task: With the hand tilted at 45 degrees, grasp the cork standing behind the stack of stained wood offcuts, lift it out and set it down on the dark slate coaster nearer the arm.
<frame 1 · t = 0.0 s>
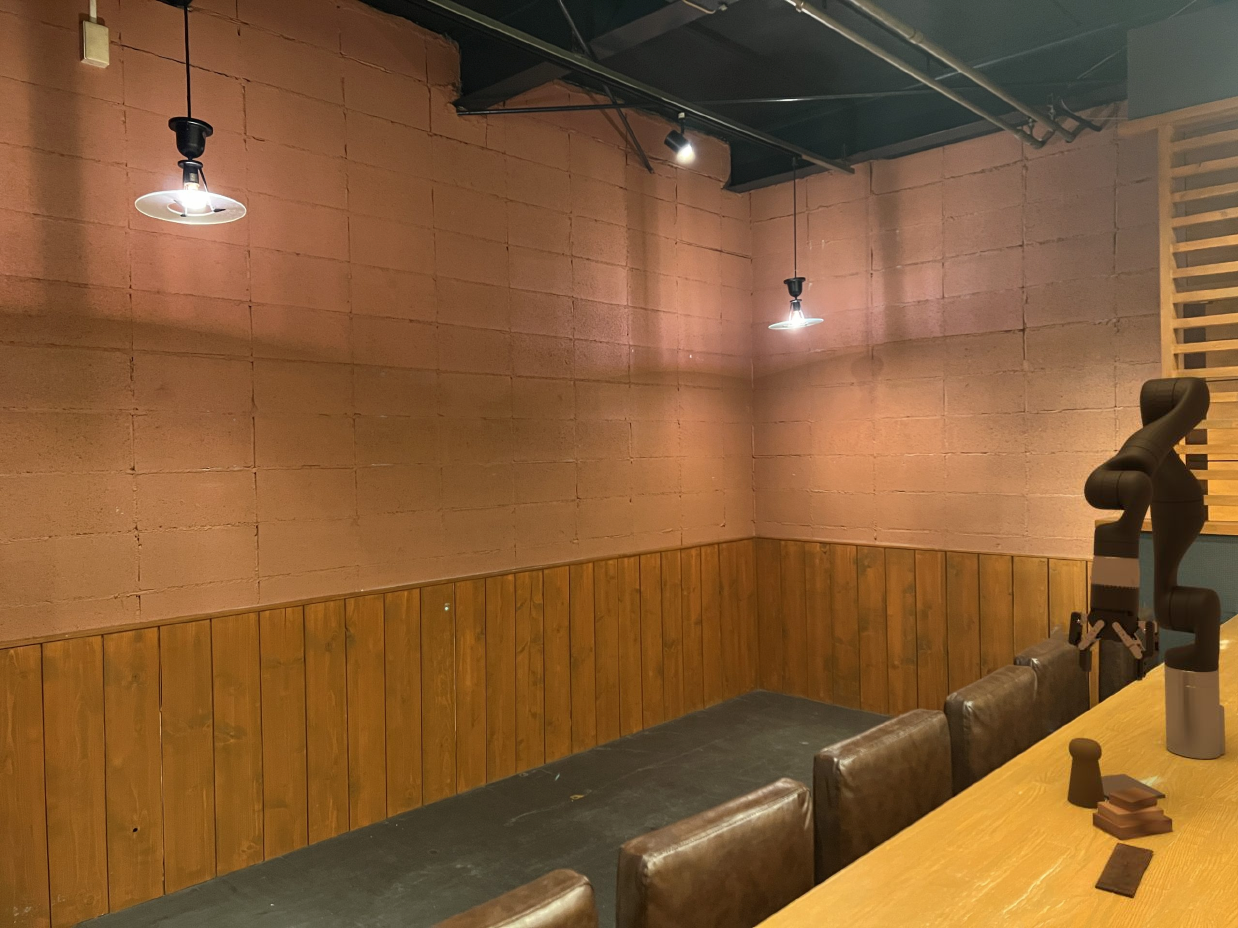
hand: (1111, 675, 155), 22 cm above the counter, tool pointing down, fingers open, 8 cm apart
wooden plank: (1125, 874, 132), on the counter
cork: (1086, 802, 156), on the counter
offcut stack: (1132, 827, 145), on the counter
slate coaster: (1119, 789, 161), on the counter
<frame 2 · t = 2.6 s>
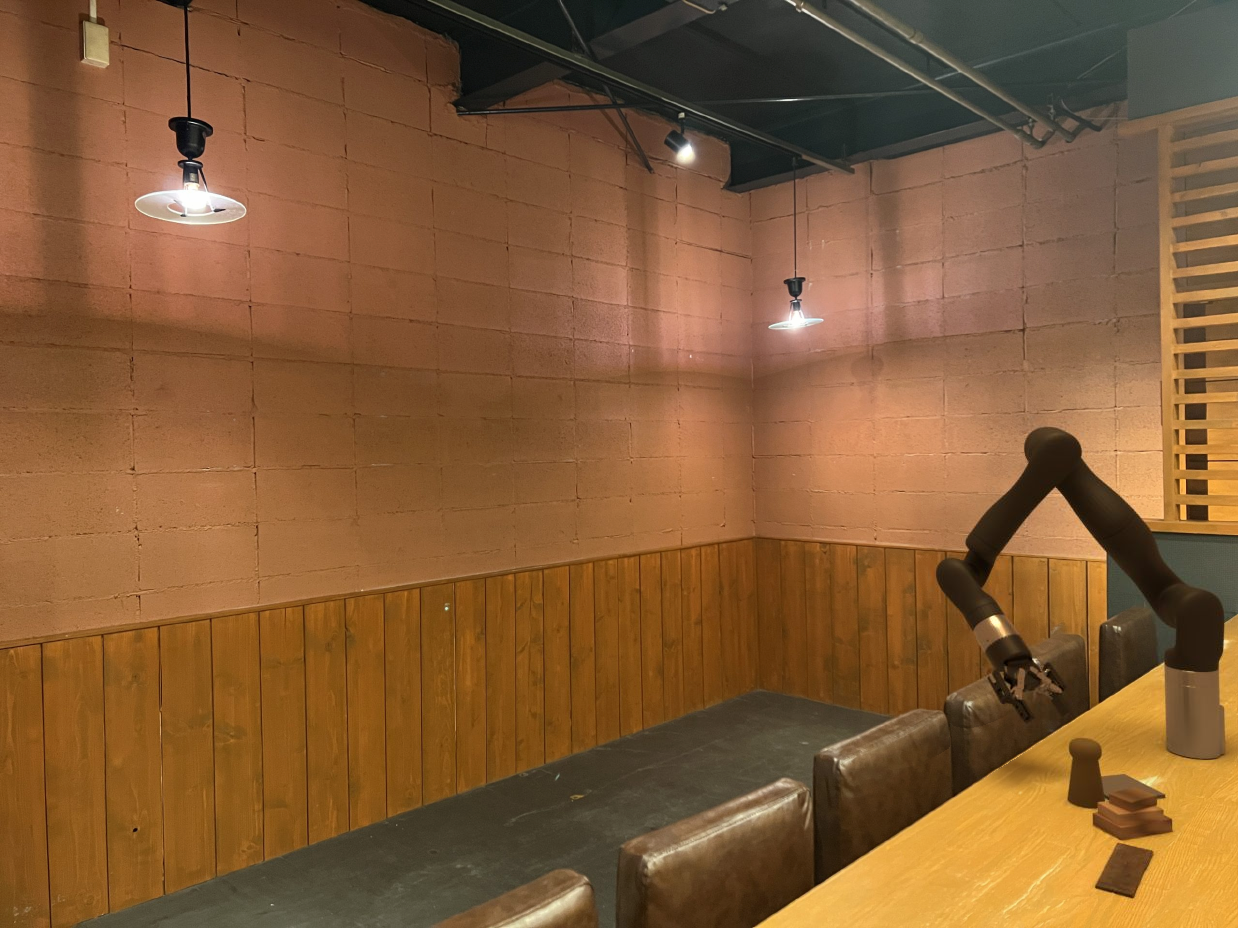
hand: (1049, 717, 163), 13 cm above the counter, tool tilted 45°, fingers open, 8 cm apart
nothing on the counter moved.
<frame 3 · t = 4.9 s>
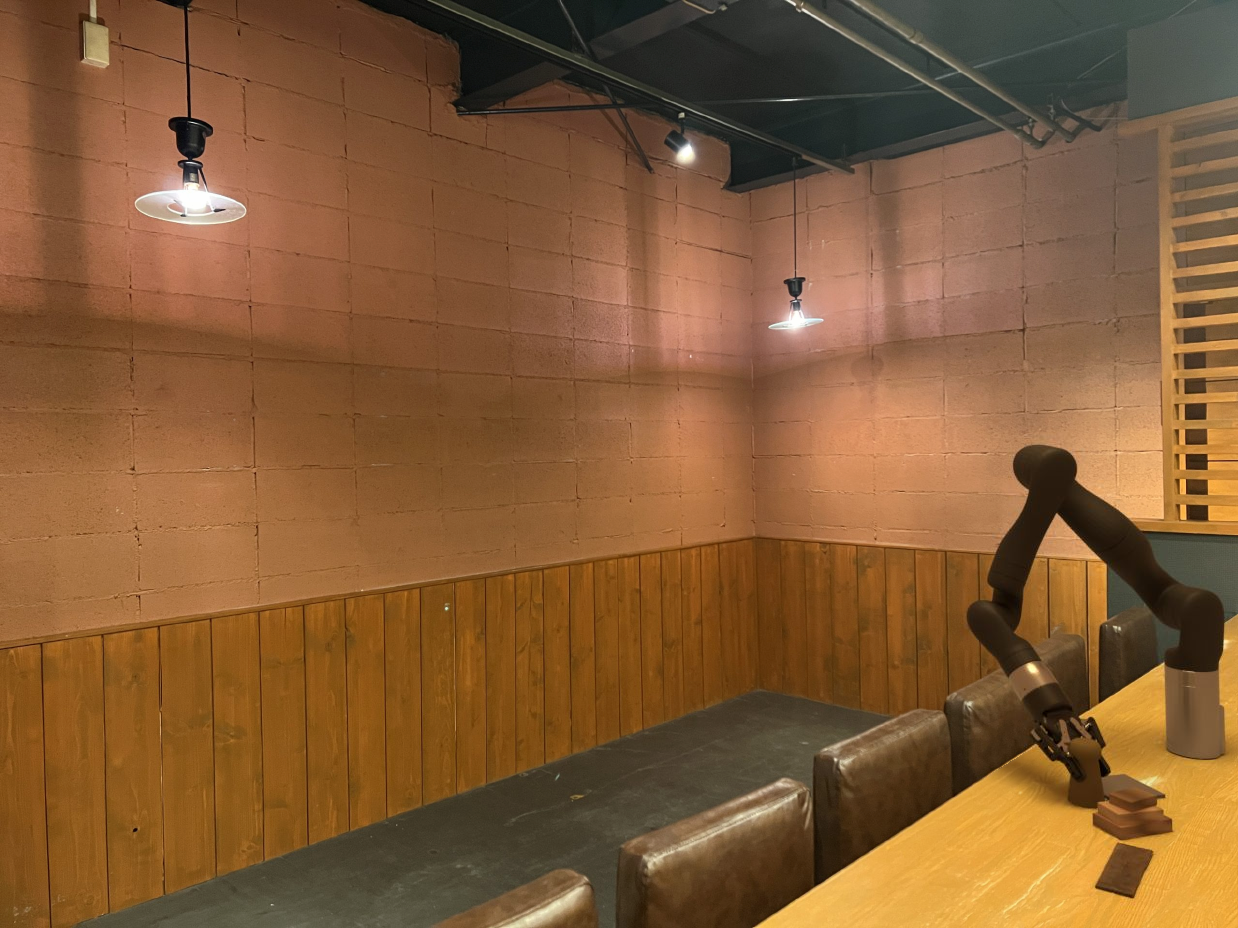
hand: (1094, 777, 154), 5 cm above the counter, tool tilted 45°, fingers closed on cork, 5 cm apart
cork: (1086, 802, 156), on the counter, touching gripper
everything else where it was.
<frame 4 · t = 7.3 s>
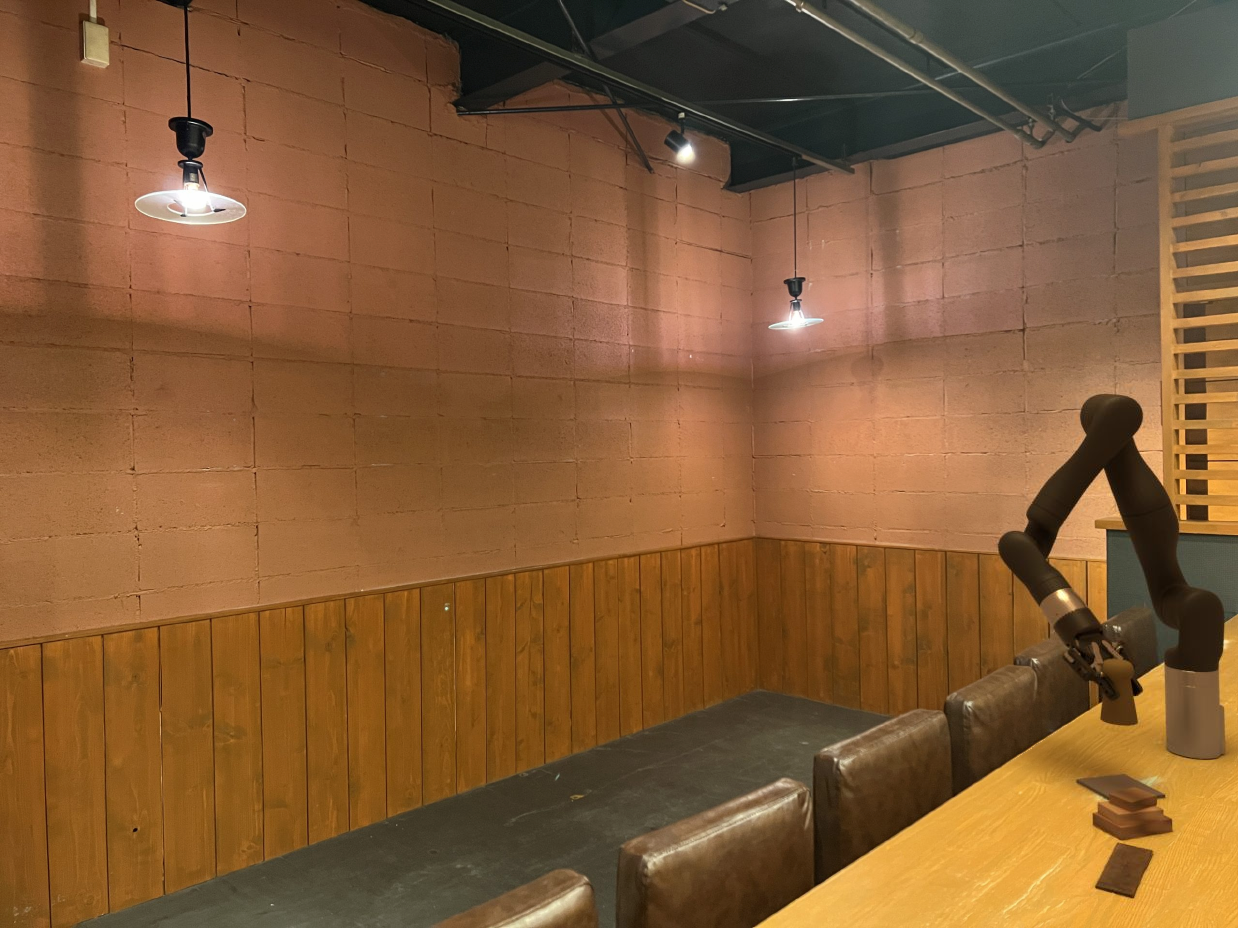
hand: (1127, 695, 158), 18 cm above the counter, tool tilted 45°, fingers closed on cork, 5 cm apart
cork: (1119, 721, 160), point 13 cm above the counter, touching gripper
everything else where it was.
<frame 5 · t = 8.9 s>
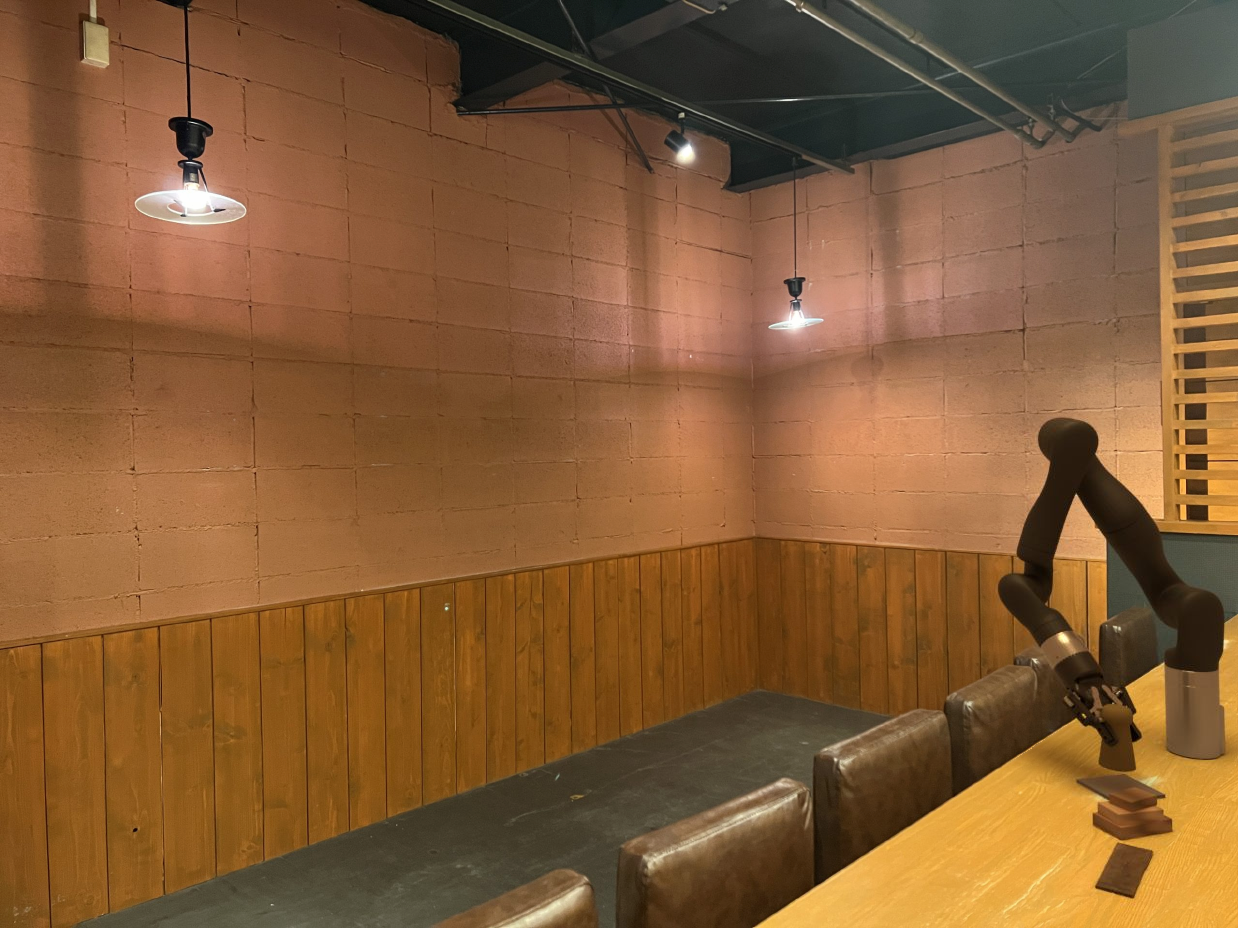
hand: (1126, 741, 159), 9 cm above the counter, tool tilted 45°, fingers closed on cork, 5 cm apart
cork: (1117, 766, 161), point 4 cm above the counter, touching gripper
everything else where it was.
when the fingers open (7 cm above the counter, at t = 9.9 s): cork drops 1 cm, resting on slate coaster.
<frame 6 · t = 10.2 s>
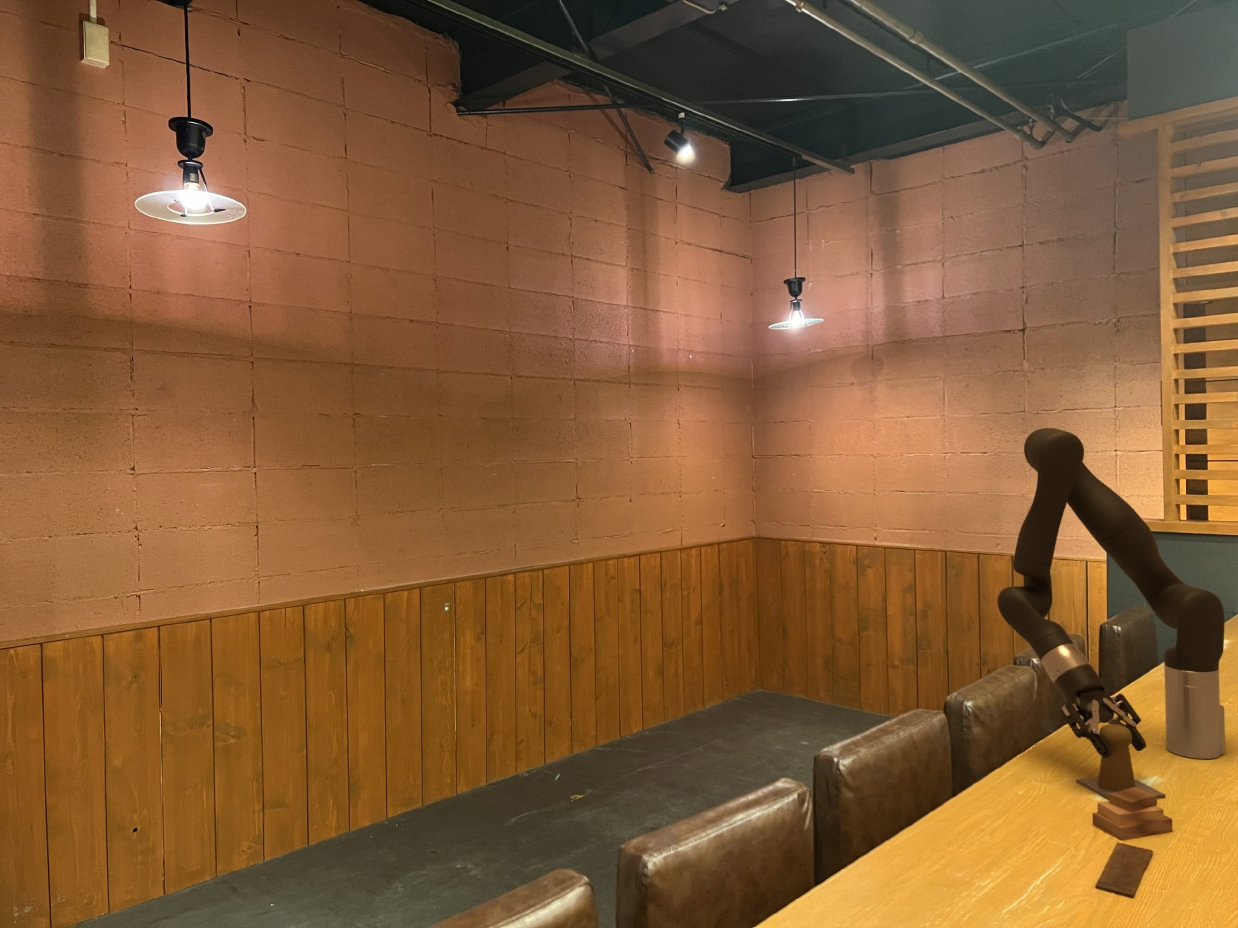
hand: (1125, 752, 159), 7 cm above the counter, tool tilted 45°, fingers open, 7 cm apart
cork: (1116, 786, 161), resting on slate coaster
everything else where it was.
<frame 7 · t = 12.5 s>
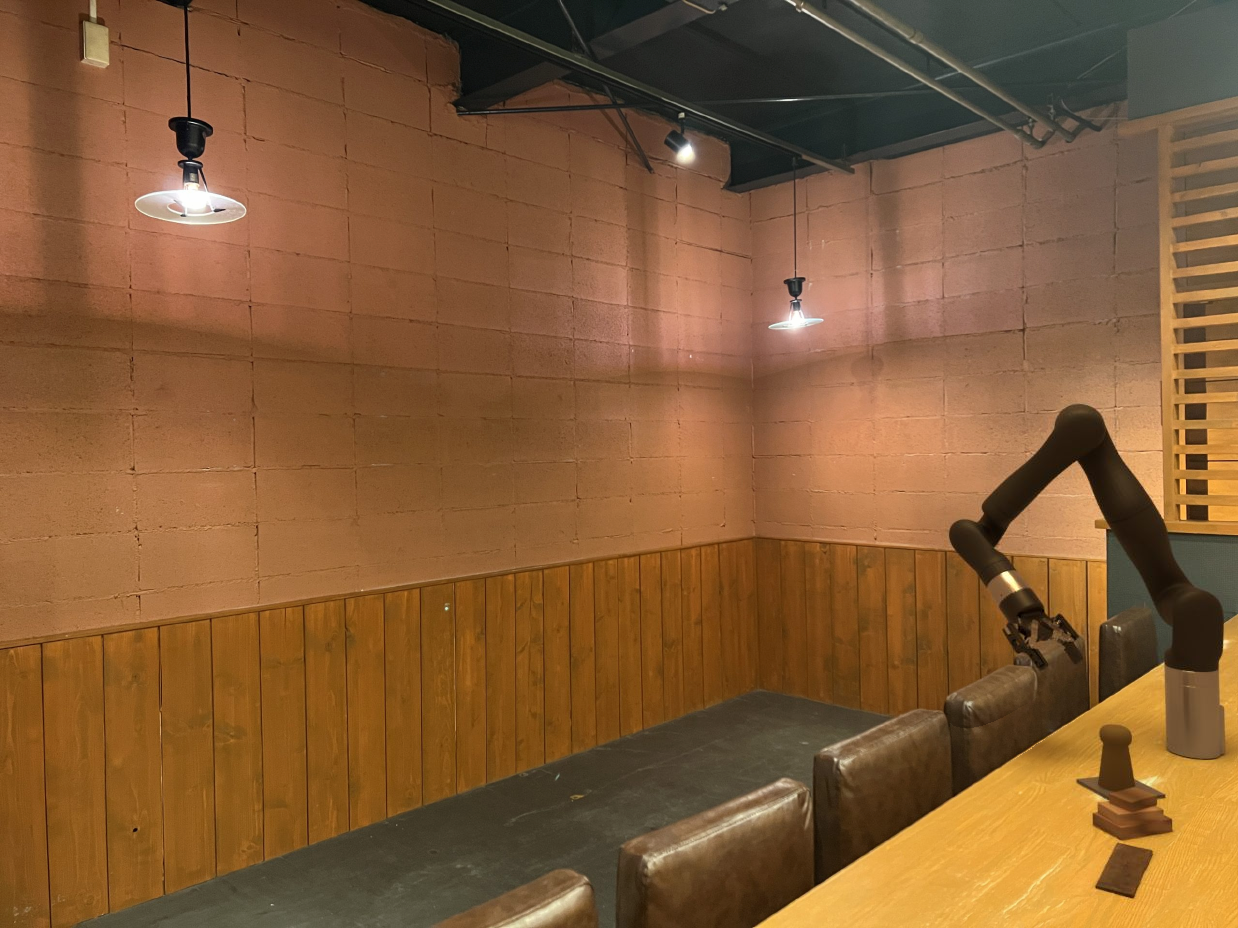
hand: (1062, 664, 171), 20 cm above the counter, tool tilted 45°, fingers open, 8 cm apart
nothing on the counter moved.
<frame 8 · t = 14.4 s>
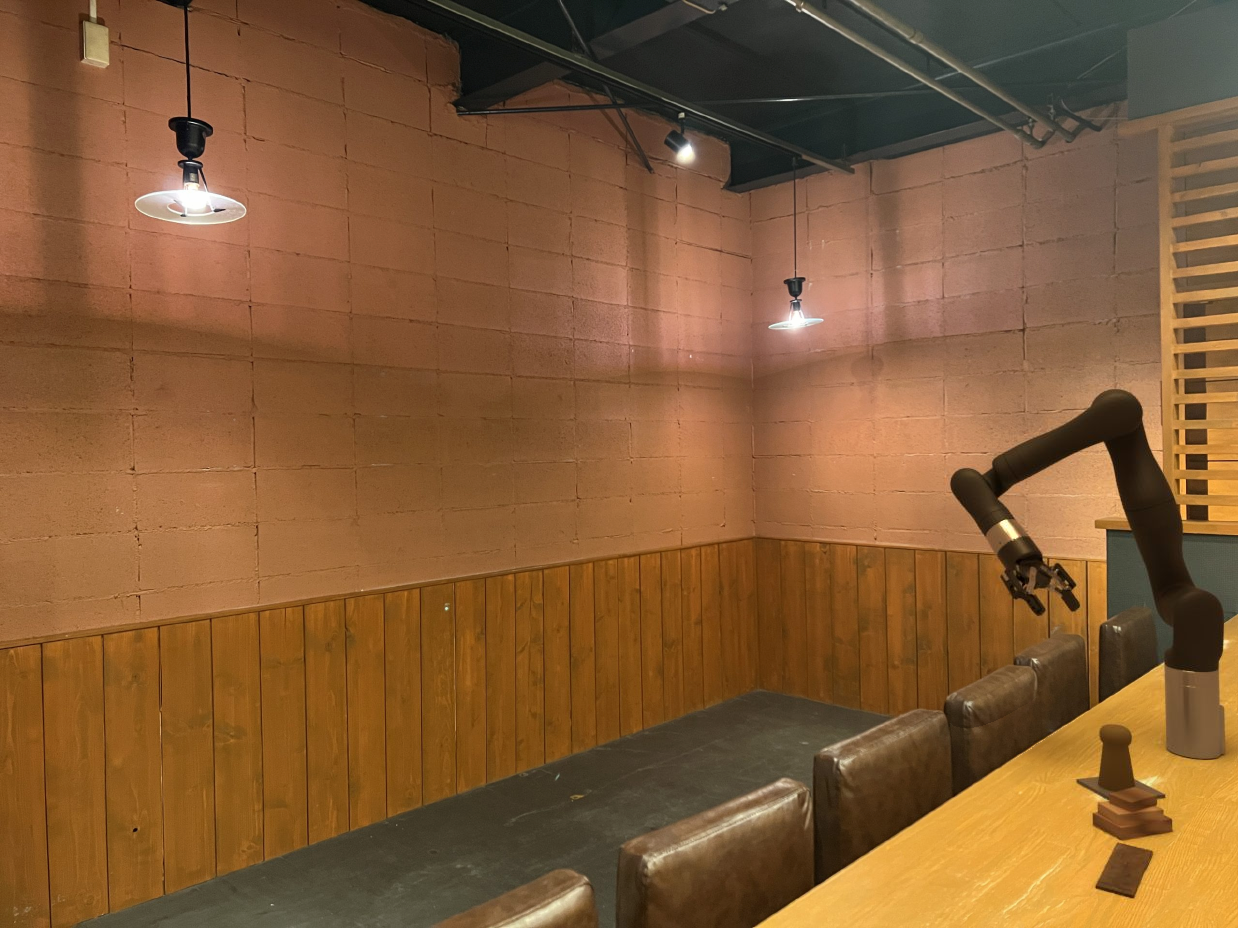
hand: (1059, 611, 171), 31 cm above the counter, tool tilted 45°, fingers open, 8 cm apart
nothing on the counter moved.
at the end: cork inside the target area on the slate coaster (0.5 cm from its centre), point 0.4 cm above the slate coaster's base; cork tilted 0°; the gripper is holding nothing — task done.
